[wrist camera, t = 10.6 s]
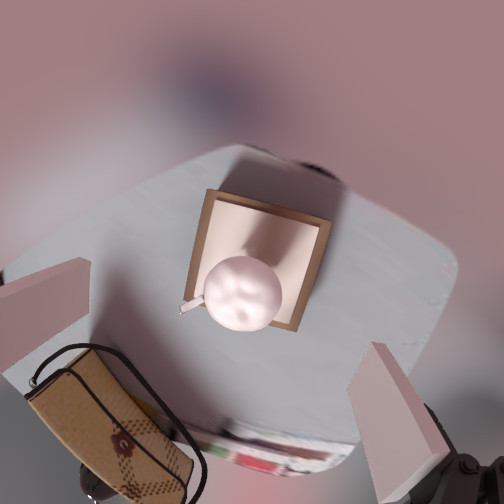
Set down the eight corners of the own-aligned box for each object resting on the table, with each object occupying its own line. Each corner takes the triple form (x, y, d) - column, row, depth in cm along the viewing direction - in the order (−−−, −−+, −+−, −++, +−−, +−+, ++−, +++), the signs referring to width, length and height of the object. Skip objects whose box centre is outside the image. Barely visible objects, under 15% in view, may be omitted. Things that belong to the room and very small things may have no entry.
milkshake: (216, 240, 23) (172, 268, 14) (279, 234, 23) (279, 261, 13) (222, 290, 24) (187, 347, 14) (283, 287, 23) (284, 345, 14)
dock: (195, 287, 29) (182, 301, 25) (217, 190, 27) (206, 188, 23) (294, 315, 28) (296, 333, 24) (324, 218, 26) (333, 222, 22)
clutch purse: (223, 460, 35) (204, 531, 20) (191, 465, 36) (168, 528, 21) (102, 319, 31) (27, 375, 17) (77, 335, 33) (11, 385, 18)
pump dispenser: (102, 446, 38) (70, 492, 24) (97, 418, 36) (56, 470, 21) (146, 467, 38) (119, 519, 23) (146, 442, 36) (112, 503, 21)
